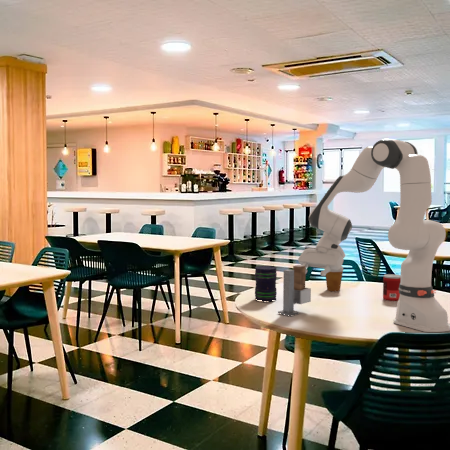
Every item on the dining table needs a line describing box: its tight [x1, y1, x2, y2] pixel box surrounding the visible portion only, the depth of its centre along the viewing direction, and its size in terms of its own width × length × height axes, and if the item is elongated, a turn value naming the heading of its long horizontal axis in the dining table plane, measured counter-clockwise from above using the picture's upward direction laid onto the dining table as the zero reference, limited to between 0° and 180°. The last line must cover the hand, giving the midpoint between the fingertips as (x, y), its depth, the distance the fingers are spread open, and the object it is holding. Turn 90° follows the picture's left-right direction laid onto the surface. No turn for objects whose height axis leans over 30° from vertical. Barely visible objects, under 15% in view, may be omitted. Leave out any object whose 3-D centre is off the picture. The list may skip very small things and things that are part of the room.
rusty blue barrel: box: [254, 265, 277, 301], centre depth 236 cm, size 10×10×15 cm
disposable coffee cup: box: [323, 265, 344, 292], centre depth 258 cm, size 10×10×12 cm
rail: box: [292, 264, 306, 290], centre depth 215 cm, size 4×4×14 cm
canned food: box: [382, 273, 401, 302], centre depth 238 cm, size 8×8×11 cm
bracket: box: [277, 268, 312, 317], centre depth 213 cm, size 14×7×18 cm, turn 136°
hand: (312, 274), depth 222 cm, fingers open, 8 cm apart
